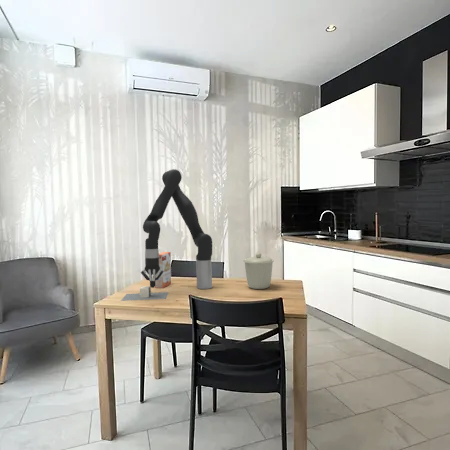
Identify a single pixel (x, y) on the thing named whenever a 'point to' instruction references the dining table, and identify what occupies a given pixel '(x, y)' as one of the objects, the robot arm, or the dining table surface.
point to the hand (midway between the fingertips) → (152, 287)
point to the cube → (145, 291)
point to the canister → (258, 271)
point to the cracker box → (166, 267)
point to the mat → (137, 297)
